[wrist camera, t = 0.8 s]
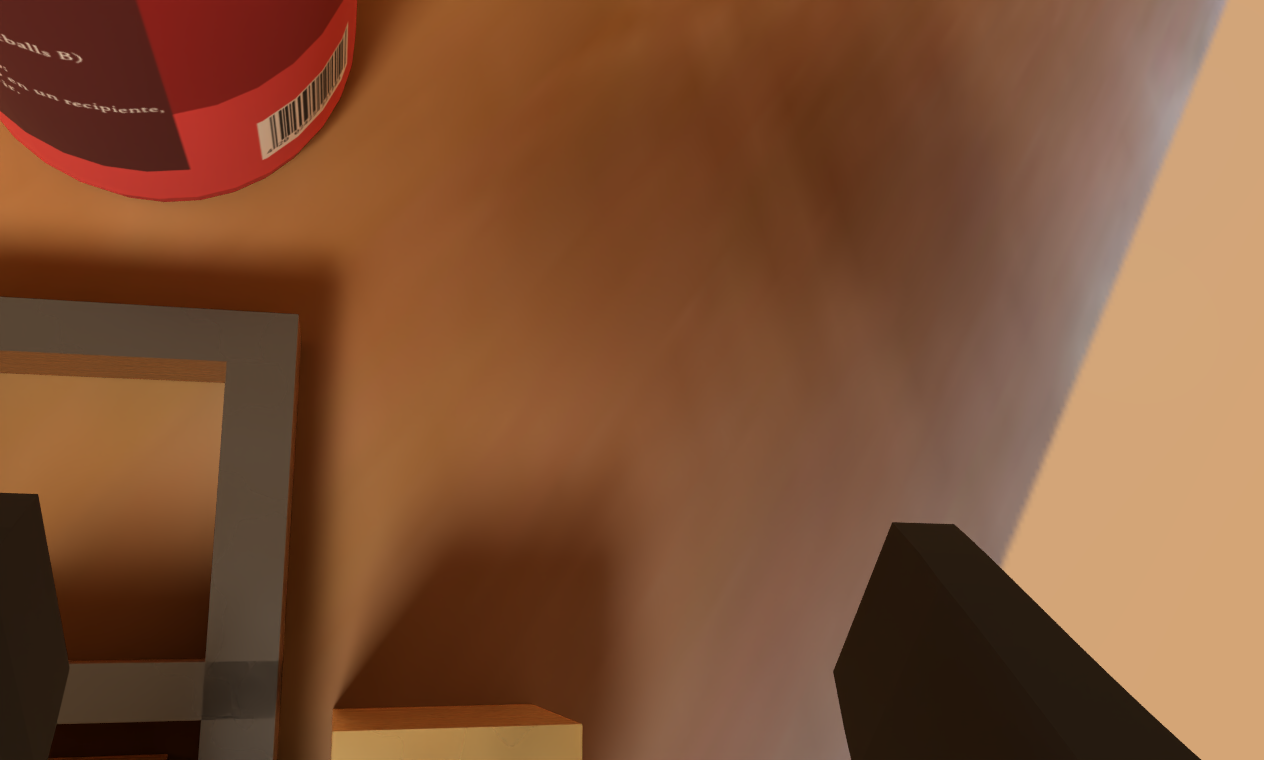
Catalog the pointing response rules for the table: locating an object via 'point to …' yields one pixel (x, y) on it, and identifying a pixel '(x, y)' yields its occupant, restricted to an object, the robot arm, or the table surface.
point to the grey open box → (245, 511)
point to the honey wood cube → (454, 733)
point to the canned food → (171, 88)
